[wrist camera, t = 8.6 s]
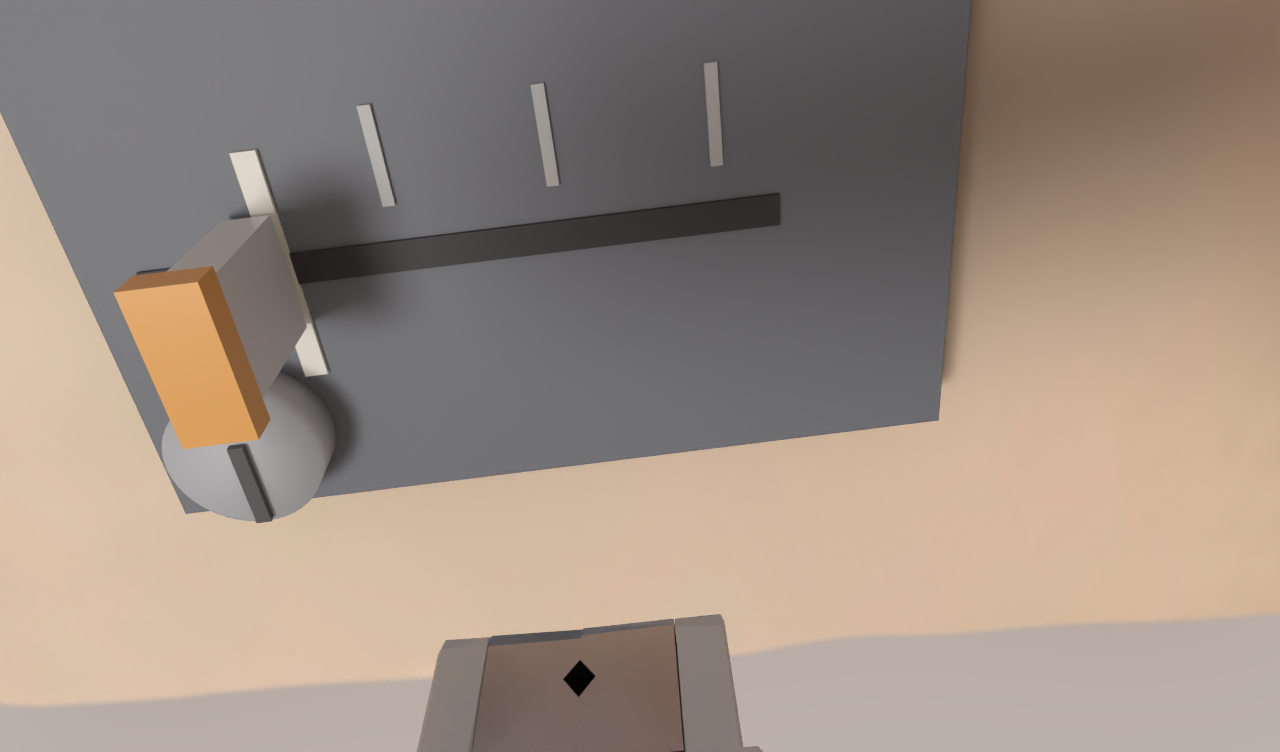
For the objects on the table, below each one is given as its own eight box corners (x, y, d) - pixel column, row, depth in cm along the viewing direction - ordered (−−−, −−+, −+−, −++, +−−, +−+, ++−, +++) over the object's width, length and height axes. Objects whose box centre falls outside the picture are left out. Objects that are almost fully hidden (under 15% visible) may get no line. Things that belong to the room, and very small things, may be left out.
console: (946, -133, 20) (1017, -138, 17) (915, 385, 27) (960, 453, 24) (-1, -19, 20) (-112, -1, 17) (210, 473, 27) (161, 552, 24)
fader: (274, 202, 21) (197, 281, 16) (317, 336, 22) (258, 439, 18) (206, 209, 21) (114, 292, 16) (255, 344, 22) (183, 449, 18)
